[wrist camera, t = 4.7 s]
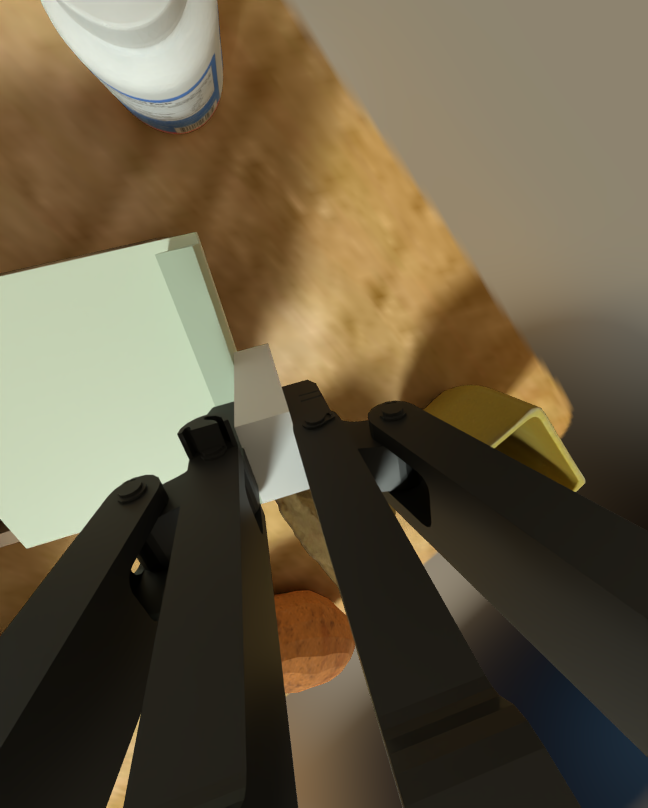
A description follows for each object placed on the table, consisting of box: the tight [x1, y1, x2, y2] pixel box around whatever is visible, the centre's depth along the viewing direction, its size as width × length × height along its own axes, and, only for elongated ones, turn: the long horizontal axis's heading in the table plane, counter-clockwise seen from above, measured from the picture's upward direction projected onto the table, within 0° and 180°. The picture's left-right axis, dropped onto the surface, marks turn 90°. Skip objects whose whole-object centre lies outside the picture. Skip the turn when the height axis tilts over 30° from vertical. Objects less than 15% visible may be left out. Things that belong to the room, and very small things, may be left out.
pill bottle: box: [41, 0, 223, 134], centre depth 13 cm, size 6×5×10 cm
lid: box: [0, 232, 263, 549], centre depth 15 cm, size 13×12×3 cm
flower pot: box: [423, 385, 585, 492], centre depth 26 cm, size 9×9×9 cm
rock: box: [275, 489, 396, 586], centre depth 27 cm, size 11×9×10 cm
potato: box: [274, 590, 355, 693], centre depth 33 cm, size 9×11×8 cm
